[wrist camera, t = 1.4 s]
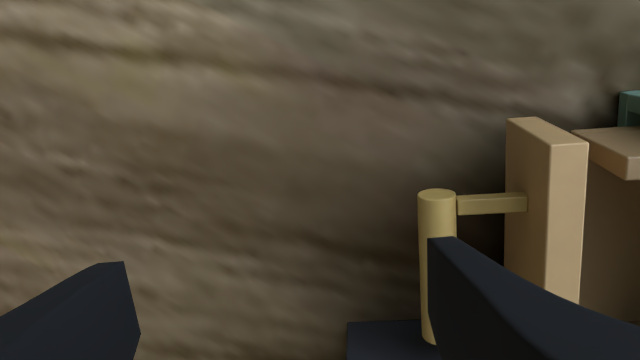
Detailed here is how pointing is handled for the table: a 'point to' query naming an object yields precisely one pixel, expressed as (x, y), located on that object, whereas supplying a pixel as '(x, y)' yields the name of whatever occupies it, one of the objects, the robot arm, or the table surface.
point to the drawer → (558, 215)
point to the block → (388, 341)
